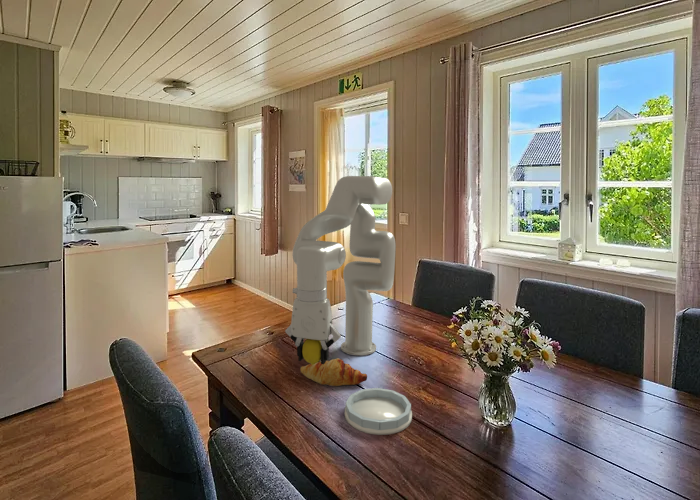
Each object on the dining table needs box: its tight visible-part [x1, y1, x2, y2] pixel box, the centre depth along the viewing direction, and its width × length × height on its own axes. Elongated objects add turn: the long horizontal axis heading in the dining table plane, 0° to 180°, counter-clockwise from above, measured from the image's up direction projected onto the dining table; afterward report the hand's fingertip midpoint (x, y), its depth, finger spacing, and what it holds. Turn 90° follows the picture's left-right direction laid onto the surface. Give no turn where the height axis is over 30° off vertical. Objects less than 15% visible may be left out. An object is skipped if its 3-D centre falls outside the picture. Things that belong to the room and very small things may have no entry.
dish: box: [344, 387, 413, 436], centre depth 103 cm, size 17×17×3 cm
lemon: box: [302, 339, 322, 365], centre depth 107 cm, size 6×6×8 cm
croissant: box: [299, 357, 368, 387], centre depth 122 cm, size 21×10×8 cm
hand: (313, 359), depth 107 cm, fingers closed on lemon, 5 cm apart
